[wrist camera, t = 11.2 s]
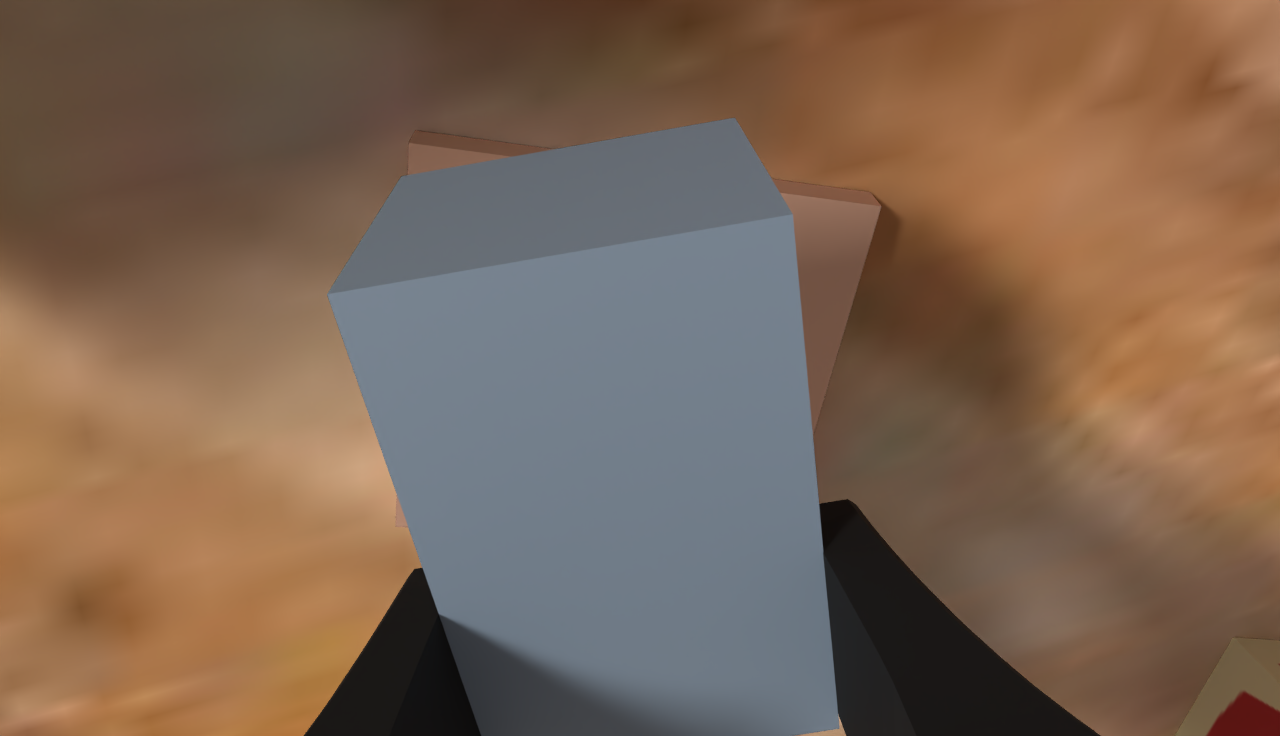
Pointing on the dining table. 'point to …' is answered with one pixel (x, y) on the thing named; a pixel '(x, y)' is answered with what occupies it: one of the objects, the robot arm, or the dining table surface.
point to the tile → (824, 238)
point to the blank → (604, 434)
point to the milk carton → (1239, 693)
